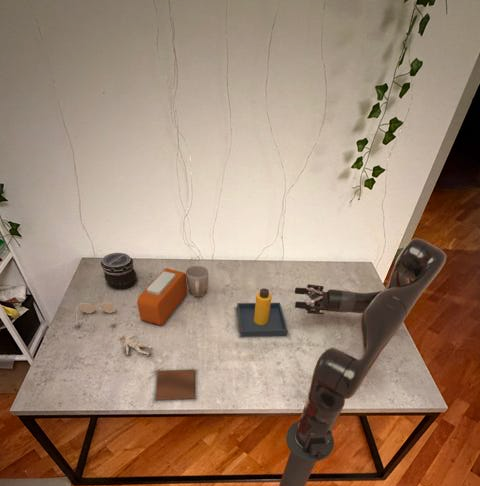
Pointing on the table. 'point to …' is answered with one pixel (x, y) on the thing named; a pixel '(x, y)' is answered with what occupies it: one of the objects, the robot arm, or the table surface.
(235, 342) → the table surface
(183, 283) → the orange box
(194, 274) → the mug
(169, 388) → the board
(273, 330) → the tray
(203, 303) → the table surface
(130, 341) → the soldier figure
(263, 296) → the yellow bottle
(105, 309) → the sunglasses
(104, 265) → the container
